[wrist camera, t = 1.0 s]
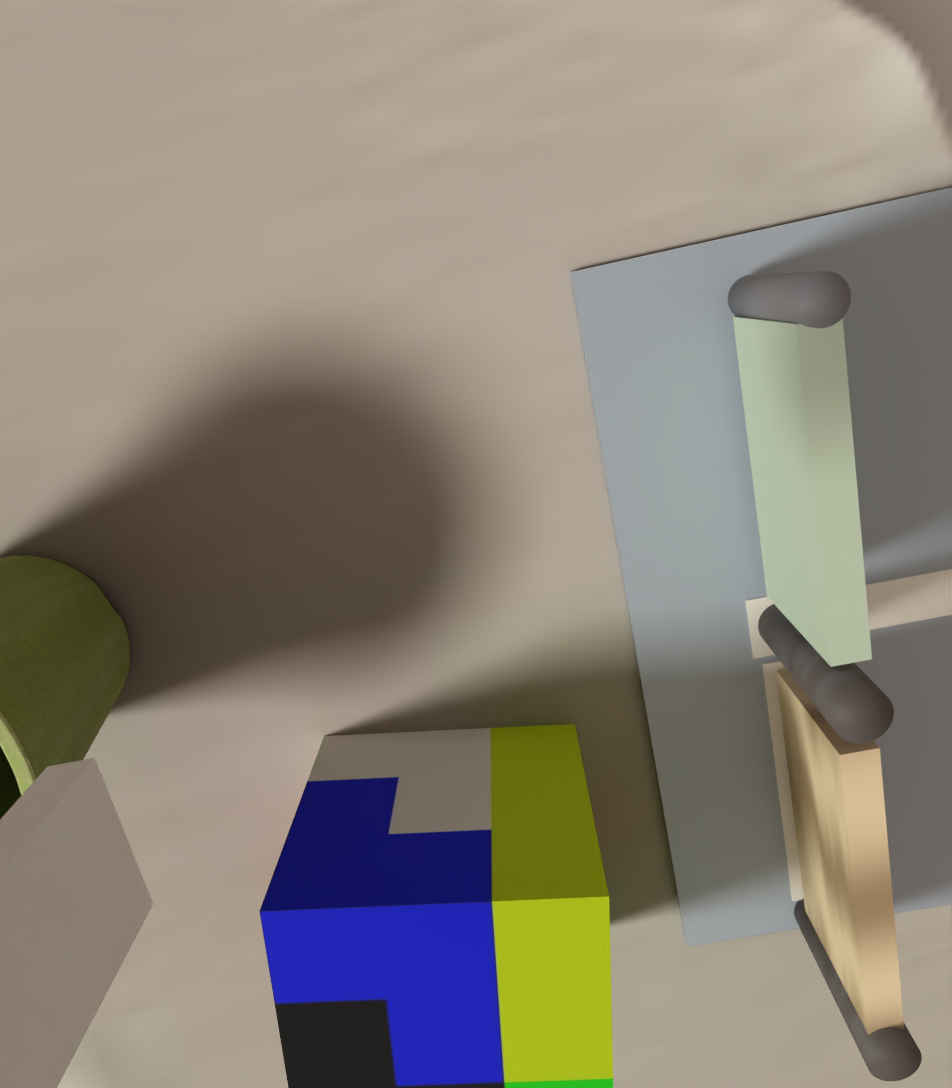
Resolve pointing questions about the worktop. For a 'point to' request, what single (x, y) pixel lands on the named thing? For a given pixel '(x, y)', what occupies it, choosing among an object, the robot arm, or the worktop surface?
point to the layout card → (735, 551)
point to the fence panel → (804, 455)
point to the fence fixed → (843, 840)
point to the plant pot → (53, 668)
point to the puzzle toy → (443, 915)
